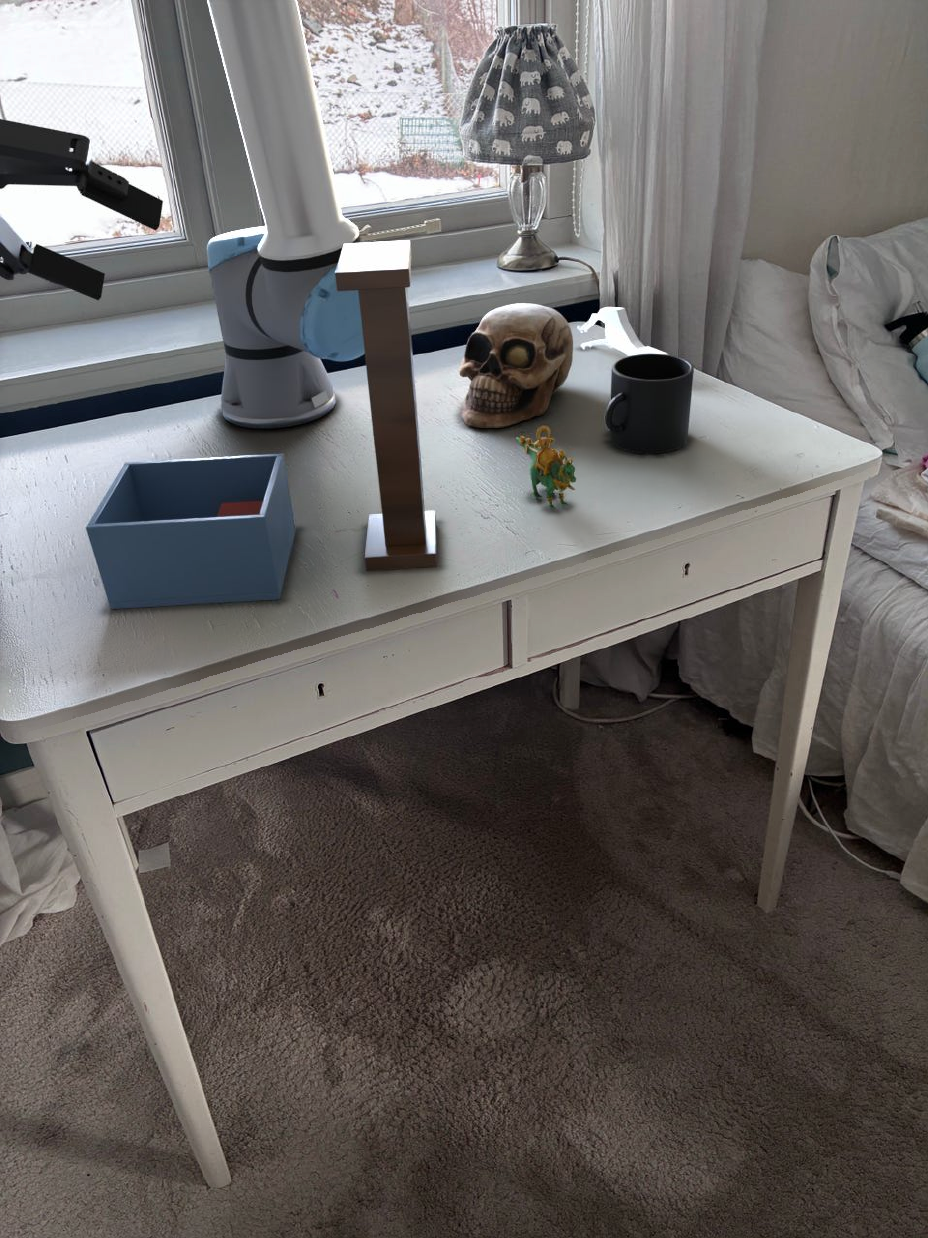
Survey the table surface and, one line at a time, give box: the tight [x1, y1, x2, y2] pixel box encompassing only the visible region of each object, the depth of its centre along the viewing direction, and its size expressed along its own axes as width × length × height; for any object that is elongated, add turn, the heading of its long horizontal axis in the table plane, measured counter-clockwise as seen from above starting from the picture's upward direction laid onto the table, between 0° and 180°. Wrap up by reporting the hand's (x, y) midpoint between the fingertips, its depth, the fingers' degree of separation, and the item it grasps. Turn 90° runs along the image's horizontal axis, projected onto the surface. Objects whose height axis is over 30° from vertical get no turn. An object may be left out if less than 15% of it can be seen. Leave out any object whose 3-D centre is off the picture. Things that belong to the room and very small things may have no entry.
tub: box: [85, 452, 296, 610], centre depth 93 cm, size 14×16×9 cm
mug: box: [604, 353, 695, 455], centre depth 113 cm, size 9×12×9 cm
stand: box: [335, 239, 438, 571], centre depth 89 cm, size 10×7×28 cm
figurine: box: [516, 425, 577, 510], centre depth 103 cm, size 3×12×8 cm, turn 27°
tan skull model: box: [458, 302, 574, 429], centre depth 125 cm, size 16×17×13 cm
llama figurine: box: [576, 306, 669, 356], centre depth 137 cm, size 2×11×18 cm
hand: (129, 253), depth 89 cm, fingers open, 13 cm apart
